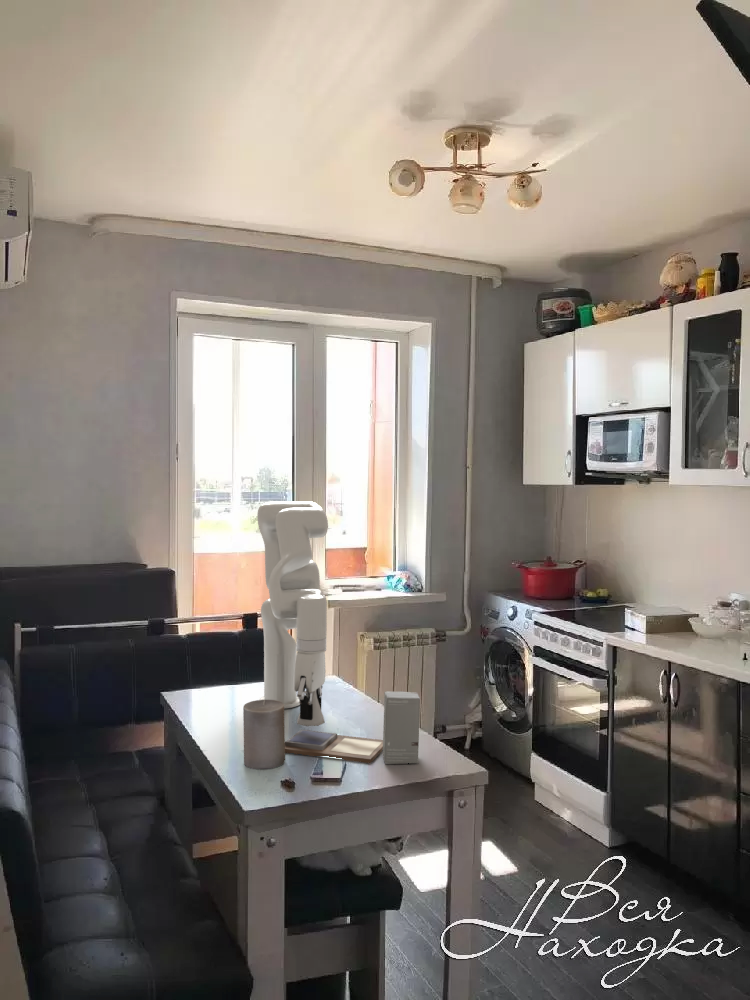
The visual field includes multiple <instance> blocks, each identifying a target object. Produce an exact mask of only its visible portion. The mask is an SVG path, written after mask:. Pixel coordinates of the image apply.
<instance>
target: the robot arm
mask: <svg viewBox="0 0 750 1000" xmlns="http://www.w3.org/2000/svg"><path fill="white" fill-rule="evenodd" d="M256 518H257V526H258V530H259V533H260V535H261V538H262V540H263V544H264V565H265V567H264V569H265V570H264V571H265V573H264V575H265V585H266V587H267V589H268V594H269V598H266V600H264V602H262V604H261V607H260V617H261V622H262V629H263V630H262V631H263V652H264V653H263V656H264V657H263V663H264V664H263V667H264V668H263V680H264V682H263V685H264V687H263V688H264V689H263V694H264V695H263V696H262V697H259V699H258V700H276V701H280V702H282V703H283V704H284V710H285V709H291V708H296V707H298V706H299V714H300V719H305V720H312V719H313V704H311V701H312V692H314V691H315V690H316V694H317V699H318V702H319V705H320V708H321V709H322V695H323V685H324V684H325V682H326V671H327V670H326V651H327V633H328V632H327V625H328V624H327V623H328V622H327V620H328V619H327V618H328V615H327V613H328V612H327V610H328V603H327V597H326V595H325V594H324V592H323V591H322V590H321V581H320V580H321V579H320V569H319V567H318V564H317V563H316V562H315V561H314V560H312V559H313V551H312V546H311V540H310V539H313V538H314V539H315V538H318V539H320V538H324V537H325V536H326V535H327V533H328V529H329V521H328V517H327V513H326V512H325V510H324V509H323V508H322V507H321V506H320V505H319V504H318V503H316V502H313V501H287V500H286V501H285V500H283V501H270V502H268V501H267V502H265V503H263V504H261V505H260V506H259V507H258V508H257V516H256ZM293 629H294V630H295V629H296V640H295V639H294V637H293V636H292V635H291V634H290V633H289V630H293ZM306 689H309V690H308V691H306ZM306 694H309V695H308V697H307V696H305V695H306Z"/></svg>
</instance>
